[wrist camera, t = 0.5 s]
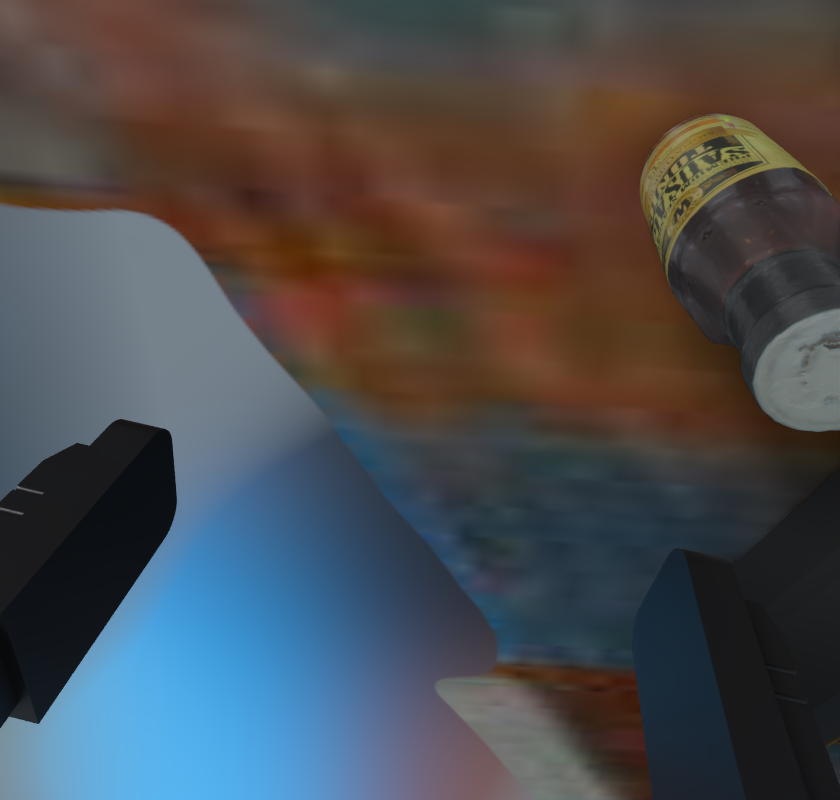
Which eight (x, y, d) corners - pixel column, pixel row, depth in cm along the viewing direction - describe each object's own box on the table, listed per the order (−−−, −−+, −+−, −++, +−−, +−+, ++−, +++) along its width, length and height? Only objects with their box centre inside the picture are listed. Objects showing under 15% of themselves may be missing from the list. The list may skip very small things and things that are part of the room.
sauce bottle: (688, 84, 31) (853, 189, 15) (792, 148, 32) (1062, 317, 15) (607, 203, 35) (667, 396, 18) (703, 258, 35) (844, 491, 19)
